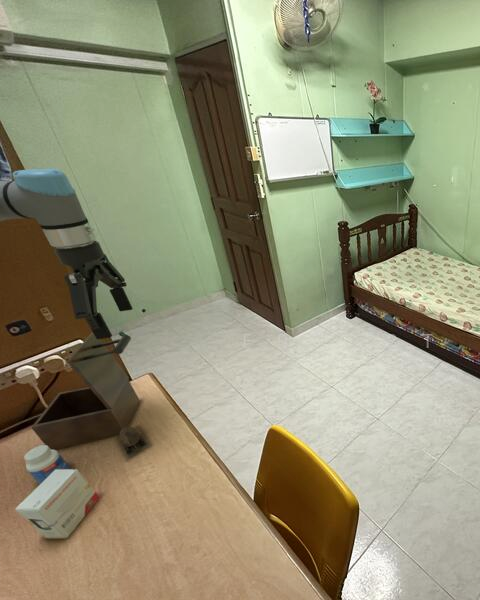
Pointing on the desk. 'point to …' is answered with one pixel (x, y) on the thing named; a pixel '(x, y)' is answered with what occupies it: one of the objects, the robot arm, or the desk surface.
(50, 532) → the ink box
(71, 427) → the chest
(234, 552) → the desk surface
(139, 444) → the figurine
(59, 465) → the pill bottle
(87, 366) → the lid
